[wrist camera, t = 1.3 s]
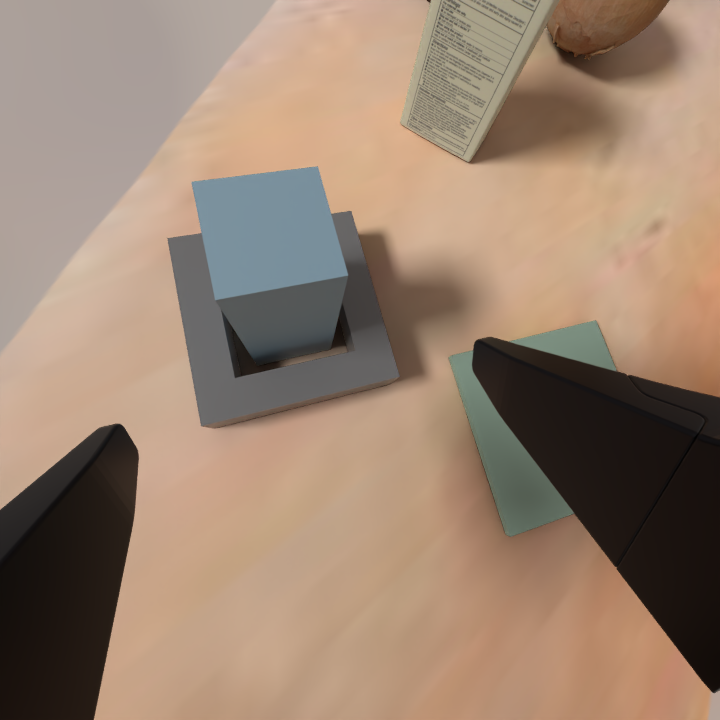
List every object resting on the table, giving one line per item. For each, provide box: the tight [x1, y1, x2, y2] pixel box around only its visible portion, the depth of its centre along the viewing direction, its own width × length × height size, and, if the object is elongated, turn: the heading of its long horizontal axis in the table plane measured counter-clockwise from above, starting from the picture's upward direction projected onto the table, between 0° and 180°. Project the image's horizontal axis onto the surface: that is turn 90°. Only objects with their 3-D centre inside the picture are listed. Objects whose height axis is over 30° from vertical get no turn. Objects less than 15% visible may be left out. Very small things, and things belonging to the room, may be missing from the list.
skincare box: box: [400, 0, 560, 162], centre depth 22 cm, size 6×4×12 cm
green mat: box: [449, 320, 617, 537], centre depth 23 cm, size 11×11×1 cm
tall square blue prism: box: [192, 166, 348, 366], centre depth 17 cm, size 4×4×10 cm
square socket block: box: [167, 211, 400, 428], centre depth 21 cm, size 10×10×2 cm
